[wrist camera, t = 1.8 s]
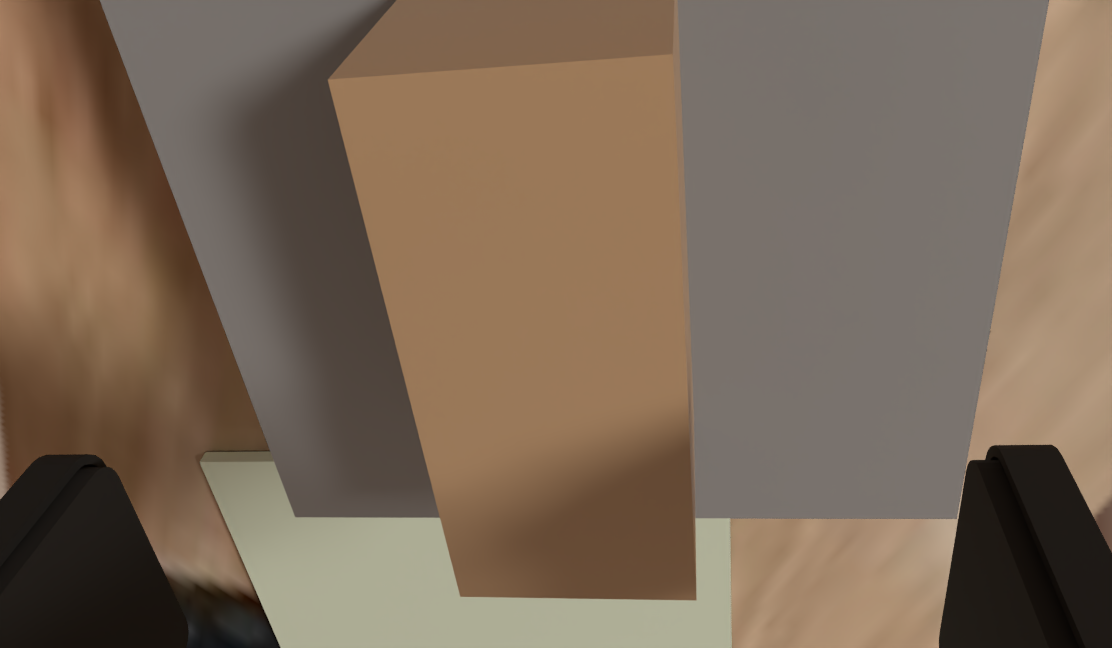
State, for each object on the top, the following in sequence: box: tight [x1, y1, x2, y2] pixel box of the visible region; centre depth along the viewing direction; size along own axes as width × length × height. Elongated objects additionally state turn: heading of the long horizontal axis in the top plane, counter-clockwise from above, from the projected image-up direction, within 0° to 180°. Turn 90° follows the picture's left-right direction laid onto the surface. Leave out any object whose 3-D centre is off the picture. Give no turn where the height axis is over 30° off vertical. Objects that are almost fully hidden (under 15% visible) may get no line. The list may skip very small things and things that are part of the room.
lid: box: [100, 0, 1049, 601], centre depth 13 cm, size 13×13×5 cm
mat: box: [200, 451, 732, 648], centre depth 28 cm, size 14×14×1 cm
